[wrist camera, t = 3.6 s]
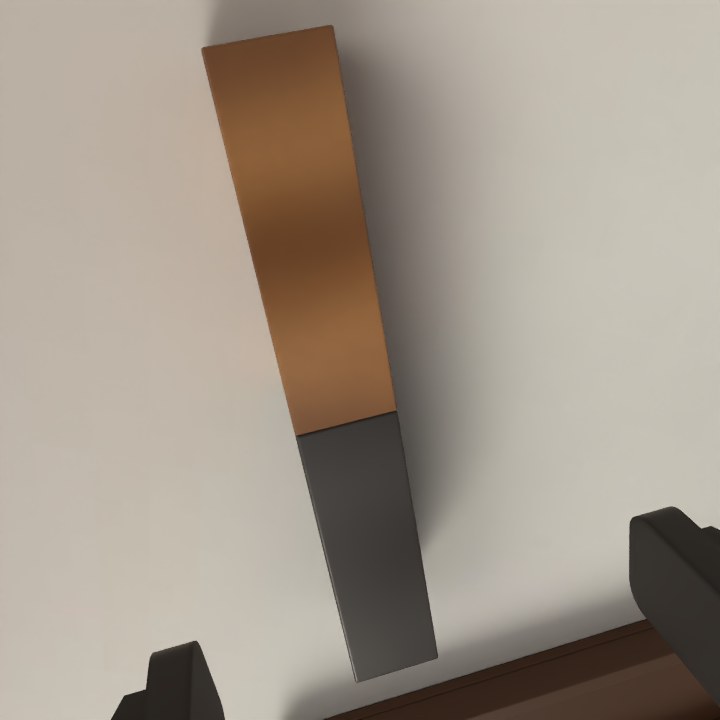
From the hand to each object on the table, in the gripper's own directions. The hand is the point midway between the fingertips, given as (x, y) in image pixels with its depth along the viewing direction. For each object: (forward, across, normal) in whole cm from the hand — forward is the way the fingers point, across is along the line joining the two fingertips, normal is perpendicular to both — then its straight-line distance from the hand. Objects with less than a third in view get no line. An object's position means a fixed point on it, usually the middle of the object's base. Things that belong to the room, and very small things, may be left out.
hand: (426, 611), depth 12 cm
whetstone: (+11, 0, 0) cm, 11 cm away
